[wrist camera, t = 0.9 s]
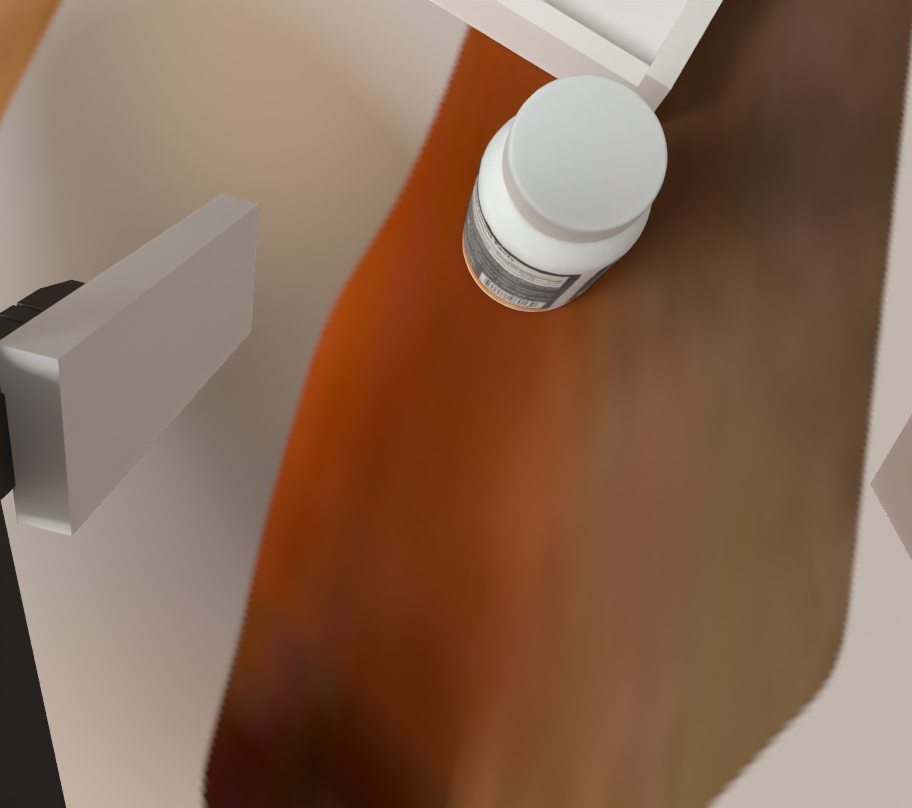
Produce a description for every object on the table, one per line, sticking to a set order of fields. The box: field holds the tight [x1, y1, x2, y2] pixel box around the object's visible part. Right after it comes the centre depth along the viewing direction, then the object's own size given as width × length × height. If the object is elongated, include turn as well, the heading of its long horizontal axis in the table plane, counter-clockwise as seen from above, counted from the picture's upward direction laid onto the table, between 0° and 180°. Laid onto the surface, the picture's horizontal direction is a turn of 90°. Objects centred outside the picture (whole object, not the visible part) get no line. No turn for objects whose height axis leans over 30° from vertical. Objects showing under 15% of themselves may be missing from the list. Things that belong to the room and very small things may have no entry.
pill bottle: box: [463, 74, 667, 312], centre depth 27 cm, size 6×6×10 cm
